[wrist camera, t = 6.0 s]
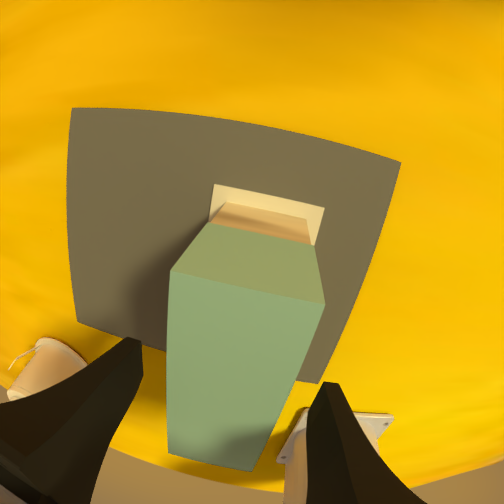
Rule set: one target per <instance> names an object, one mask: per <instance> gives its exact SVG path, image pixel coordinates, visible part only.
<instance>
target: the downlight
mask: <svg viewBox="0 0 504 504" xmlns="http://www.w3.org/2000/svg"><path fill="white" fill-rule="evenodd" d="M33 350H35V351H36V354H35V355H34V356H33V358H32V359H31V360H30V361H29V363H28V364H27V365H26V367H25V368H24V369H23V371H22V372H21V373H20V375H19V376H18V377H17V379H16V380H15V381H14V383H13V384H12V385H11V387H10V388H9V390H8V391H7V395H8V398H9V399H10V401H14V400H17V399H20V398H23V397H27V396H30V395H32V394H35V393H37V392H40V391H42V390H44V389H47V388H49V387H51V386H53V385H55V384H57V383H59V382H61V381H63V380H65V379H66V378H68V377H70V376H72V375H73V374H75V373H76V372H78V371H80V370H81V369H83V368H84V367H86V366H87V365H88V364H87V363H86V362H85V361H84V360H83V359H82V358H81V357H80V356H79V355H78V354H77V353H76V352H75V351H74V350H72V349H71V348H70V347H68V346H67V345H65V344H63V343H62V342H60V341H58V340H55V339H52V338H48V337H43V338H40V339H39V340H38V341H37V342H36V344H35V347H34V348H33V349H31V350H29V351H27V352H25V353H23V354H22V355H20V356H18V357H17V358H16V359H15V360H17V359H19V358H21V357H22V356H24V355H26V354H28V353H30V352H31V351H33ZM15 360H14V362H15ZM14 362H13V363H14ZM13 363H12V364H13ZM11 366H12V365H11ZM11 366H10V367H11ZM10 367H9V369H10ZM9 369H8V370H9Z"/></svg>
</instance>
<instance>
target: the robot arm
mask: <svg viewBox="0 0 504 504" xmlns="http://www.w3.org/2000/svg"><path fill="white" fill-rule="evenodd" d="M142 377H143V362H142V344H141V341H140V340H137V339H134V338H131V337H126V338H124V339H123V340H122V341H120V342H119V343H118V344H116V345H115V346H114V347H112V348H111V349H110V350H108V351H107V352H106V353H104V354H103V355H102V356H100V357H99V358H97V359H96V360H95V361H93V362H92V363H90V364H89V365H87V366H86V367H84V368H83V369H81V370H80V371H78V372H76V373H75V374H73V375H72V376H70V377H68V378H66V379H65V380H63V381H61V382H59V383H57V384H55V385H53V386H51V387H49V388H47V389H44V390H42V391H40V392H37V393H35V394H32V395H30V396H27V397H23V398H20V399H17V400H14V401H10V402H6V403H1V404H0V504H90V502H91V497H92V494H93V490H94V487H95V483H96V480H97V477H98V474H99V471H100V468H101V465H102V462H103V459H104V457H105V454H106V451H107V449H108V446H109V444H110V441H111V439H112V437H113V435H114V433H115V432H116V430H117V428H118V426H119V424H120V422H121V421H122V419H123V417H124V415H125V413H126V412H127V410H128V408H129V406H130V404H131V403H132V401H133V399H134V397H135V395H136V393H137V390H138V388H139V385H140V383H141V380H142ZM393 420H394V417H393V415H391V414H373V413H356V412H353V411H352V409H351V407H350V406H349V404H348V402H347V400H346V397H345V395H344V393H343V391H342V389H341V387H340V385H339V384H338V383H331V382H323V384H322V386H321V388H320V390H319V392H318V393H317V395H316V397H315V399H314V401H313V403H312V405H311V407H310V408H307V409H305V410H304V411H303V412H302V414H301V416H300V418H299V420H298V421H297V423H296V425H295V427H294V429H293V430H292V432H291V434H290V436H289V437H288V439H287V441H286V443H285V444H284V446H283V448H282V449H281V451H280V453H279V454H278V456H277V458H276V462H277V463H281V464H286V467H285V483H284V498H283V504H427V503H425V502H424V501H423V500H421V499H420V498H419V497H418V496H416V495H415V494H414V493H413V492H412V491H411V490H409V489H408V488H407V487H406V486H405V485H404V484H403V483H402V482H401V481H400V479H399V478H398V477H397V476H396V475H395V474H394V473H393V472H392V471H391V470H390V469H389V467H388V466H387V465H386V464H385V462H384V461H383V460H382V459H381V457H380V455H379V449H378V443H377V439H378V438H379V437H380V436H381V434H382V433H383V432H384V431H385V430H386V429H387V427H388V426H389V425H390V424H391V423H392V421H393Z"/></svg>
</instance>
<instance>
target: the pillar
mask: <svg viewBox="0 0 504 504" xmlns="http://www.w3.org/2000/svg"><path fill="white" fill-rule="evenodd" d="M210 223H213V224H218V225H223V226H228V227H232V228H237V229H242V230H246V231H251V232H256V233H260V234H265V235H269V236H274V237H278V238H283V239H287V240H292V241H296V242H301V243H305V244H310V245H311V241H310V236H309V231H308V226H307V221H306V219H304V218H300V217H295V216H291V215H286V214H282V213H277V212H273V211H268V210H264V209H259V208H254V207H250V206H245V205H240V204H235V203H230V202H226V203H225V204H224V206H223V207H222V208H221V209H220V211H219V212H218V213H217V215H216V216H215V217H214V218H213V220H212V221H211V222H210Z"/></svg>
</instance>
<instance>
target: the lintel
mask: <svg viewBox="0 0 504 504" xmlns="http://www.w3.org/2000/svg"><path fill="white" fill-rule="evenodd" d="M324 307H325V300H324V294H323V289H322V283H321V278H320V273H319V268H318V263H317V258H316V253H315V248H314V245H310V244H305V243H301V242H296V241H292V240H287V239H283V238H278V237H274V236H269V235H265V234H260V233H256V232H251V231H246V230H242V229H237V228H232V227H228V226H223V225H218V224H213V223H209V222H207V224H206V225H205V226H204V227H203V229H202V230H201V231H200V232H199V234H198V235H197V236H196V238H195V239H194V240H193V241H192V243H191V244H190V245H189V247H188V248H187V249H186V250H185V252H184V253H183V254H182V256H181V257H180V258H179V260H178V261H177V262H176V264H175V265H174V266H173V267H172V269H171V270H170V281H169V298H168V320H167V355H166V404H167V437H168V453H170V454H173V455H177V456H180V457H184V458H188V459H192V460H196V461H200V462H204V463H208V464H213V465H217V466H222V467H227V468H232V469H237V470H243V471H249V472H252V470H253V468H254V466H255V464H256V463H257V461H258V459H259V457H260V455H261V453H262V451H263V449H264V447H265V445H266V443H267V441H268V439H269V437H270V435H271V433H272V431H273V428H274V426H275V424H276V422H277V420H278V418H279V416H280V414H281V411H282V409H283V407H284V405H285V403H286V400H287V398H288V396H289V394H290V391H291V389H292V387H293V385H294V382H295V380H296V378H297V375H298V373H299V371H300V368H301V366H302V363H303V361H304V359H305V356H306V354H307V351H308V349H309V346H310V344H311V341H312V339H313V336H314V334H315V331H316V328H317V326H318V323H319V321H320V318H321V315H322V313H323V310H324Z"/></svg>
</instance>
